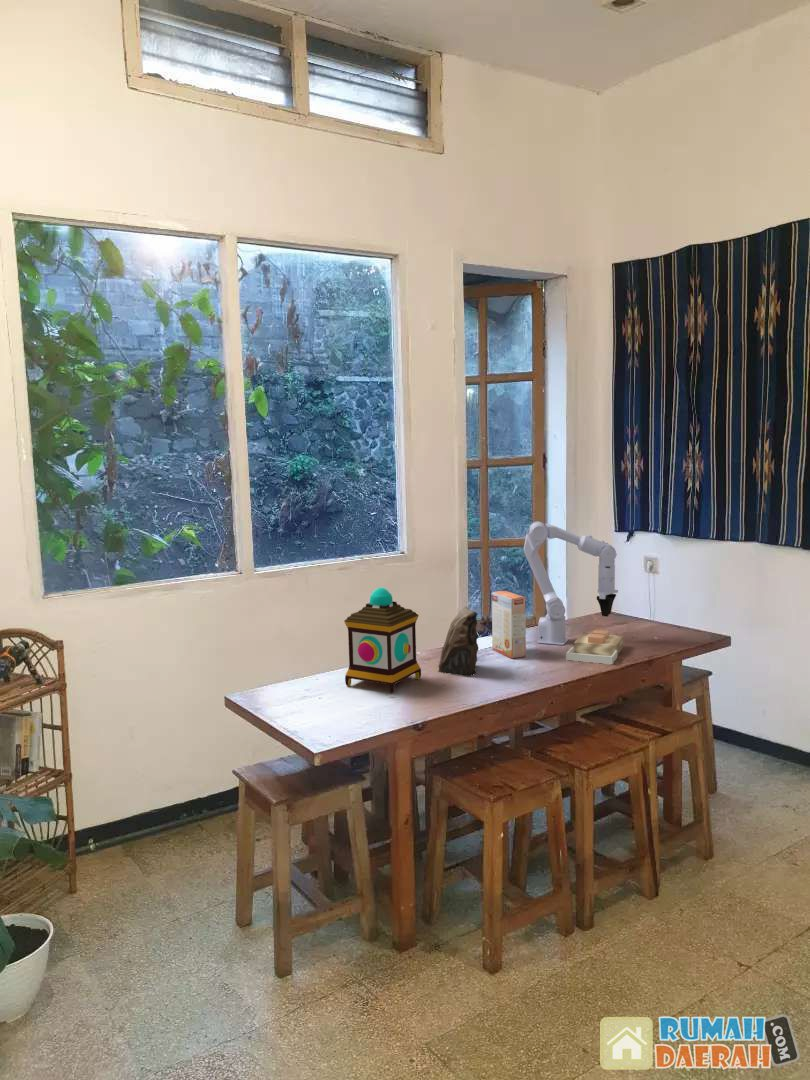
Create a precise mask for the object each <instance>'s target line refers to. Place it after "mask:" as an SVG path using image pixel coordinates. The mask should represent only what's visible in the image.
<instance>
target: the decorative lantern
mask: <svg viewBox="0 0 810 1080" xmlns="http://www.w3.org/2000/svg"><path fill="white" fill-rule="evenodd" d="M418 618H419V614H418V613H417V612H416V611H413V609H410V608H405V607H403V606H402V605H400V604H398V602H397V601H394V600H393V596H392V594H391V593H390V591H389V590H387V589H386V588H384V587H378V588H376V589H375V590H374V591H373V592H371V594H370V596H369V602H368V603H365V606H363V607H362V608H361V609H359V610H358V611H356V612H352V613H351V614H350V616H347V618H346V619H344V624H345V626H346V628H347V632H348V637H347V638H348V639H347V640H348V661H349V663H348V664H349V666H348V669H347V671H346V673H345V676H344V681H345V686H346V687H350V686H351V685H352V680H358V681H362V682H363V681H364V682H370V683H376V684H377V683H378V684H383V685H386V686H387V687H388V690H389V691H388V692H389V694H394V692H395V685H396V684H397V683H400V682H401V681H403V680H405V679H407V678H409V677H411V676H412V675H415V679H416V680H420V679H421V676H422V669H421V667H420V664H419V662H418V661H417V645H416V644H417V641H416V640H417V637H416V636H417V634H416V625H417V621H418Z"/></svg>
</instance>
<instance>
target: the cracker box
mask: <svg viewBox="0 0 810 1080" xmlns="http://www.w3.org/2000/svg"><path fill="white" fill-rule="evenodd" d="M491 595H492V596H491V604H492V605H491V608H492V609H491V610H492V613H491V614H492V615H491V616H492V620H491V621H492V623H491V624H492V626H491V628H492V631H491V633H492V650H493V649H494V650H493V651H495V650H496V652H497V651H498V653H499V654H502V655H504V656H505V657H508V658H510V659H517V658H518V659H519V657H520V658H525V657H526V655H527V654H526V653H527V649H526V647H527V644H526V642H527V640H526V639H527V637H526V636H527V635H526V634H527V633H526V631H527V626H526V624H527V623H526V619H527V618H526V614H527V613H526V612H527V611H526V609H527V608H526V607H527V605H526V603H527V602H526V601H527V599H526V596H522V595H520V594H517V593H513V592H510V591H508V590H497V591H492V593H491Z"/></svg>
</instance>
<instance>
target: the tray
mask: <svg viewBox="0 0 810 1080" xmlns="http://www.w3.org/2000/svg"><path fill="white" fill-rule="evenodd" d="M617 659H618V655H617V651H616V650H615V652H614V653H613V654H612V656H604V655H593V654H582V653H574V646H571V647H570V648H569V649H568V651H566V653H565V661H568V660H573V661H572V662H578V661H581V663H589V662H593V664H599V663H603V664H602V665H610V664H612V665H614V664H615V662H614V661H616V660H617ZM582 661H583V662H582Z"/></svg>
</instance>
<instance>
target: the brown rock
mask: <svg viewBox="0 0 810 1080" xmlns="http://www.w3.org/2000/svg"><path fill="white" fill-rule="evenodd" d="M478 615H479V614H478V613H477V612H476V611H474V610H472V609H470V608H469V607H468V606H465V605H464V607H463V608H462V609H461V610H460V611H459V612H458V613H457V614H456V615H455V617H454V618H453V620H452V621H451V623H450V626H449V628H448V630H447V631H448V632H447V634H446V638H445V641H444V644H443V646H442V648H441V653H440V657H439V659H440V660H439V662H438V671H437V672H438V673H442V672H443V674H448V673H451V674H450V675H454V674H457V675H456V676H461V675H462V676H461V677H472V676H474V675H476V674H477V673H476V671H475V670H476V667H477V666H476V665H477V662H478V652H479V645H478V641H477V640H478V635H477V625H478V619H477V617H478ZM475 673H476V674H475ZM473 674H474V675H473ZM471 675H472V676H471Z"/></svg>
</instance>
